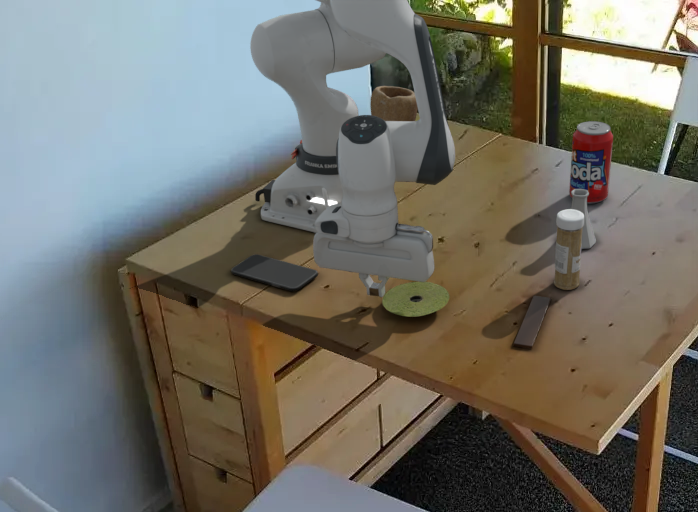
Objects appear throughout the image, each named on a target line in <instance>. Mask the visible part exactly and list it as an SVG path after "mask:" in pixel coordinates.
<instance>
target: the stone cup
mask: <svg viewBox="0 0 698 512" xmlns="http://www.w3.org/2000/svg"><path fill="white" fill-rule="evenodd" d="M370 115H373V116H377V117H379V118H381V119H383V120H384V121H417V120H416V119H417V115H418V107H417V102H416V97H415V92H414V90H412V89H409V88H405V87H400V86H394V85H379V86H377V87H375V88H374V89H373V91H372V92H371V95H370Z"/></svg>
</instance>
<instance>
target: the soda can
mask: <svg viewBox="0 0 698 512" xmlns="http://www.w3.org/2000/svg"><path fill="white" fill-rule="evenodd" d="M571 143H572V144H571V158H570V172H569V173H570V175H569V190H568V191H569V192H568V193H569V196H570V198H573V196H572V194H571V192H572V191H573V190H574V189H585V190H588V192H589V195H588V196H587V205H594V204H598V203H600V202H602V201H605V200H606V199H607V198H608V196H609V191H610V178H611V169H612V158H613V157H612V156H613V144H614V134H613V133H612V130H611V126H610V125H609V124H608V123H605V122H602V121H595V120H589V121H584V122H580V123H578V124H577V125H576V130H575V131H574V132H573V134H572V142H571Z"/></svg>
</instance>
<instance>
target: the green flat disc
mask: <svg viewBox="0 0 698 512" xmlns="http://www.w3.org/2000/svg"><path fill="white" fill-rule="evenodd" d="M449 300H450V293H449V291H448V290H447V289H446V288H445V287H444V286H442V285H440V284H438V283H434V282H430V281H426V282H419V281H411V282H410V281H409V282H405V283H401V284H398V285H396V286H394V287H392V288H390V289H389V290H387V291H386V292H385V294H384V296H383V297H382V300H381V303H382V306H383V307H384V308H385V309H386V311H388V312H389V313H391V314H395V315H397V316H402V317H410V318H411V317H412V318H413V317H415V318H416V317H423V316H426V315H430V314H432V313H435V312H438V311H440V310H441V309H443V308H444V307H445V306H446V305H447V304H448V303H449Z"/></svg>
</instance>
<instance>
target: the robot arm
mask: <svg viewBox="0 0 698 512" xmlns="http://www.w3.org/2000/svg"><path fill="white" fill-rule="evenodd" d="M315 1H316V2H319V3H320V5H319V7H318V8H315V9H311V10H306V11H305V10H304V11H299V12H292V13H287V14H281V15H278V16H275V17H273V18H272V17H271V18H270V19H268V20H265V21H262V22H260V23H258V24H257V25H256V26H255V28H254V30H253V31H252V34H251V37H250V43H249V44H250V46H249V47H250V48H249V49H250V55H251V59H252V61H253V63H254V65H255V67H256V69H257V70H258V71H259V73H260V74H261V75H262V76H263V77H264V78H266V79H267V80H269V81H271V82H273V83H274V84H276V85H278V86H279V87H280V88H281V89H282V90H283V91H284V92H285V93H286V94H287V95H288V96H289V98H290V99H291V101H292V103H293V105H294V108H295V111H296V113H297V118H298V124H299V130H300V135H301V139H300V141H299V144H298V145H296V146H295V148H294V150H293V152H291V154H290V155H291V160H294V159H295V160H296V161H295V162H294V163H293V164H291V165H290V166H289V167H288V168H287V169H286V170H284V171H283V172H282V173H280V174H279V176H278V177H277V178H276V179H272V180H270V182H268V183H267V184H266V185H264V187H263V188H261V189H259V190H257V191H256V192H255V197H254V199H255V200H254V201H255V202H261V197H260V196H261V195H263V199H264V204H263V205H262V206H261V209H260V219H261V220H262V221H266V222H269V223H273V224H278V225H282V226H285V227H290V228H294V229H298V230H303V231H307V232H311V233H314V236H313V241H312V243H313V244H312V252H313V260H314V263H315V264H316V265H317V267H319V268H321V269H328V270H334V271H342V272H349V273H357V274H358V278H359V280H360V281H361V283H362V284H363V286H364V287H365V288H366V295H367V296H369V297H370V296H371V297H379V298H383V297H384V295H385V293H386V284H387V283H388V281H389V279H390V278H391V279H397V280H398V279H400V280H406V281H411V282H428V280H429V279H430V278H431V277H432V276H433V274H434V271H435V267H436V266H435V258H434V252H433V249H434V237H433V234H432V233H431V232H430V231H429V230H427V229H425V227H424V226H421V225H410V224H406V223H399V209H398V208H399V207H398V198H397V195H396V192H395V183H415V184H422V185H431V186H436V185H438V184H439V183H441V182H442V181H444V180H445V179H446V178H447V177H448V176H449V175H451V173H452V172H453V171H454V166H455V161H456V147H455V141H454V137H453V135H452V133H451V129H450V126H449V122H448V118H447V113H446V109H445V102H444V98H443V92H442V88H441V81H440V76H439V71H438V67H437V61H436V56H435V52H434V47H433V43H432V39H431V35H430V32H429V28H428V26H427V23H426V21H425V19H424V18H423V17H422V16H421V15H419V14H417V13H415V11H414V10H413V8H412V7H411V5H410V3H409V1H408V0H315ZM387 54H388V55H389V56H391V57H393V58H394V59H396V60H398V61H399V62H401V64H403V65H404V67H406V69H407V70H408V73H409V75H410V78H411V82H412V86H413V92H414V93H415V97H416V102H417V107H418V110H417V113H418V115H419V119H418V120H415V121H384V120H383V119H381V118H379V117H377V116H373V115H371V114H360V115H359V108H358V105H357V103H356V102H355V100H354V99H353V98H352V97H351V96H350V95H349V94H347V93H346V92H343V91H341V90H339V89H335V88H331V87H330V86H329V87H328V83H327V76H328V75H330V74H334V73H335V74H336V73H340V72H345V71H350V70H351V71H352V70H355V69H361V68H364V67H366V66H368V65H372V64H373V63H375V62H378V61H380V60H382V59H384V58H385V56H386V55H387ZM371 276H377V277H378V281H380V282H375V281H374V280H373V278H372V277H371Z"/></svg>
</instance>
